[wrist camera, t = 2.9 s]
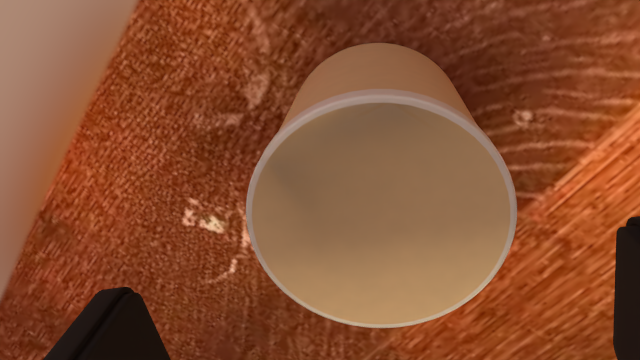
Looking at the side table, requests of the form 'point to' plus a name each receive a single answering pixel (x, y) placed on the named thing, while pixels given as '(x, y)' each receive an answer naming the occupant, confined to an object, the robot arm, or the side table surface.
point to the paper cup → (380, 193)
